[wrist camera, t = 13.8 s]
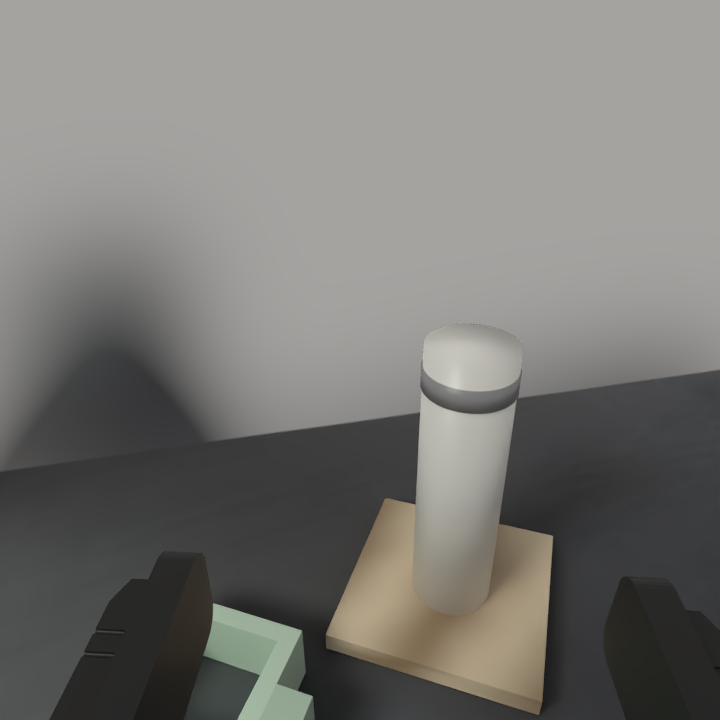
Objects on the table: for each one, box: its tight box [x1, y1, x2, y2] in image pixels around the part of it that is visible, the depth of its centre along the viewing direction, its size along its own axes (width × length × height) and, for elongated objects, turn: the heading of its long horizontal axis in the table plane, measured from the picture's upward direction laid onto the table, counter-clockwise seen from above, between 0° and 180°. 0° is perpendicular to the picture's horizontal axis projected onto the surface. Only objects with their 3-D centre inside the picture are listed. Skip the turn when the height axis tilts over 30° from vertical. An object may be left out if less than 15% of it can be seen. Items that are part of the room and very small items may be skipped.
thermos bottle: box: [412, 324, 524, 616], centre depth 27 cm, size 4×4×14 cm
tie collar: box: [203, 603, 315, 720], centre depth 24 cm, size 9×7×3 cm
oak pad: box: [326, 498, 553, 715], centre depth 30 cm, size 10×10×1 cm
